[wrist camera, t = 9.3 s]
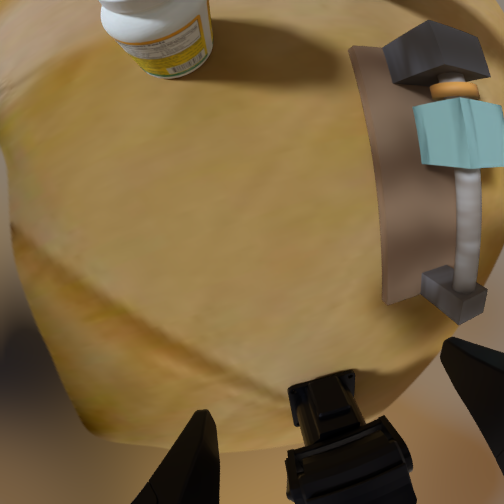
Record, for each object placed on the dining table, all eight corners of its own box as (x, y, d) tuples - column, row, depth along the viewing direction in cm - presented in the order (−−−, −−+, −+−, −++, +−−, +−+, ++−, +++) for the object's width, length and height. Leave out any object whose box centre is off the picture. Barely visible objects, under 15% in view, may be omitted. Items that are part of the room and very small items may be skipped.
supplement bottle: (196, 88, 16) (165, 20, 6) (126, 73, 15) (55, 19, 6) (225, 25, 14) (224, -63, 5) (157, 13, 13) (117, -63, 4)
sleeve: (464, 160, 15) (509, 166, 11) (421, 163, 15) (470, 168, 11) (456, 109, 14) (501, 105, 10) (412, 106, 14) (459, 97, 10)
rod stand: (461, 271, 21) (509, 300, 15) (381, 300, 21) (427, 346, 15) (442, 61, 15) (495, 45, 9) (347, 50, 15) (395, 11, 8)
